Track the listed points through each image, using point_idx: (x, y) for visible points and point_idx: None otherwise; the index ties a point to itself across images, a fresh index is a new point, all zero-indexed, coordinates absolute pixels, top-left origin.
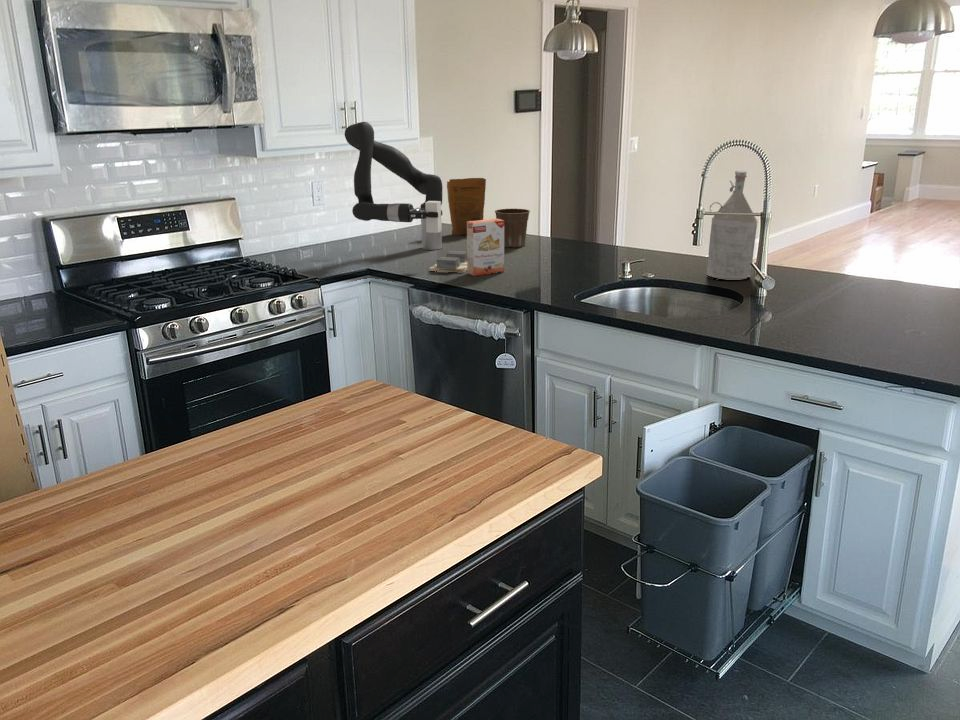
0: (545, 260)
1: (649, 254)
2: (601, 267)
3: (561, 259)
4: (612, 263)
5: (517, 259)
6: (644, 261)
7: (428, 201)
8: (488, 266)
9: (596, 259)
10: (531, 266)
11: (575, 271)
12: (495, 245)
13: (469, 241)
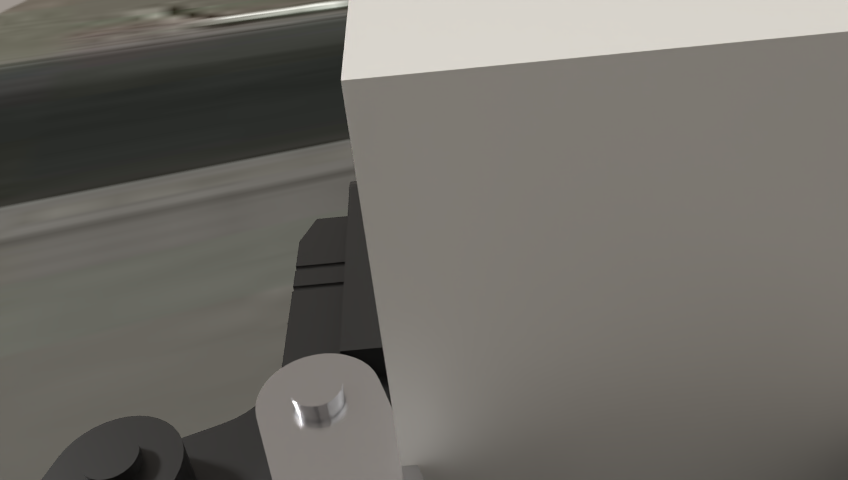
0: (141, 195)
1: (43, 16)
2: (292, 46)
3: (117, 156)
4: (211, 42)
5: (99, 307)
6: (171, 5)
7: (620, 28)
8: None
9: (127, 80)
10: (315, 203)
11: None
12: None
13: None
